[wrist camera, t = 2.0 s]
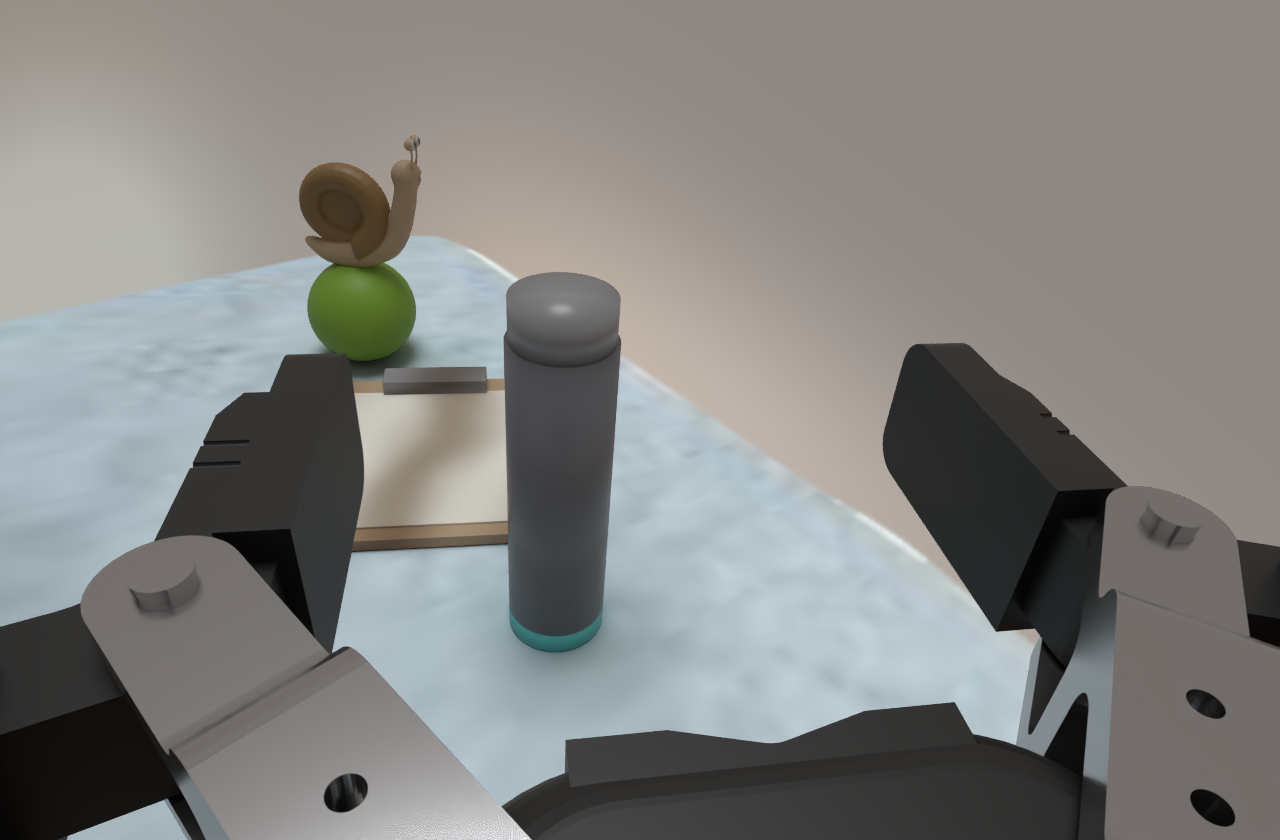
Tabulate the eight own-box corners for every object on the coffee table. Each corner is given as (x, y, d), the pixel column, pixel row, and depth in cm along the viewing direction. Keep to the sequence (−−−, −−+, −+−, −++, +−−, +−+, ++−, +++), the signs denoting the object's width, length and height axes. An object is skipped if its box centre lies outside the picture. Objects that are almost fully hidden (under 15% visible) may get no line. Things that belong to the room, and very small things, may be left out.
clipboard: (236, 556, 32) (229, 531, 31) (295, 390, 41) (291, 368, 41) (597, 538, 34) (599, 514, 33) (572, 385, 44) (573, 364, 43)
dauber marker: (510, 655, 29) (503, 324, 21) (508, 584, 31) (501, 270, 24) (606, 648, 29) (632, 323, 22) (596, 579, 32) (615, 271, 25)
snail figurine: (419, 387, 42) (398, 154, 36) (298, 373, 43) (254, 139, 36) (449, 338, 47) (435, 123, 40) (339, 326, 47) (307, 110, 40)
